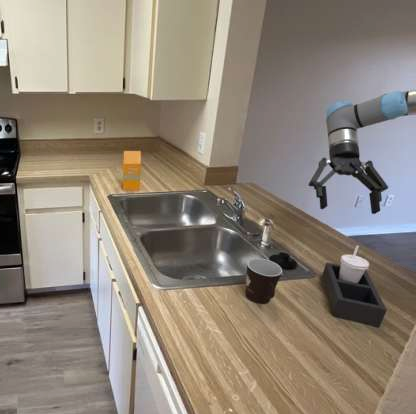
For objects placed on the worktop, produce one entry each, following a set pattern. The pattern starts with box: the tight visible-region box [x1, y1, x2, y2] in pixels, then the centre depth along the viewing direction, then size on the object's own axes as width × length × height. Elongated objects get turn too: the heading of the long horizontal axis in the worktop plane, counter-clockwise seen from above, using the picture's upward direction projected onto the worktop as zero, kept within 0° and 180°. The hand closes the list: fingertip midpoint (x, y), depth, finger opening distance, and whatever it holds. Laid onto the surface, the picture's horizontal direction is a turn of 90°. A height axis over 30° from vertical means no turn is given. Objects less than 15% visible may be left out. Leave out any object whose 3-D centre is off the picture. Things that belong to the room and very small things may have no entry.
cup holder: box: [321, 262, 388, 328], centre depth 91 cm, size 10×19×6 cm, turn 156°
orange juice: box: [122, 150, 142, 191], centre depth 173 cm, size 8×9×20 cm
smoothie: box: [338, 245, 370, 283], centre depth 93 cm, size 6×6×14 cm
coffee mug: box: [244, 257, 283, 305], centre depth 91 cm, size 12×9×10 cm
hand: (349, 210), depth 97 cm, fingers open, 13 cm apart
